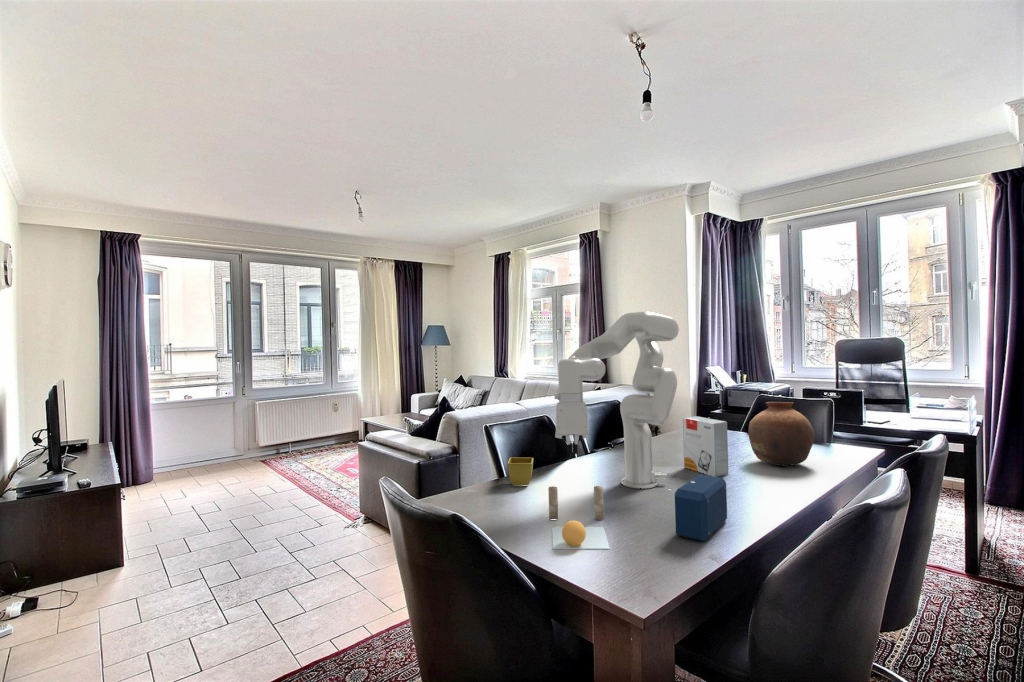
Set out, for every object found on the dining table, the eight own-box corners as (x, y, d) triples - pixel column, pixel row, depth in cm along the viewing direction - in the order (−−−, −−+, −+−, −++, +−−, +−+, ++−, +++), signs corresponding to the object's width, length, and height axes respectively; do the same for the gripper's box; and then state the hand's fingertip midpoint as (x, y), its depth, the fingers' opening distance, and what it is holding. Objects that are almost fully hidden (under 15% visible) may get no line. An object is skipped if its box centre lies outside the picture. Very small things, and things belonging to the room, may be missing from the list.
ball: (585, 551, 122) (585, 536, 128) (586, 531, 120) (585, 516, 126) (561, 550, 123) (561, 535, 128) (561, 529, 121) (562, 515, 127)
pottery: (781, 474, 181) (779, 406, 181) (736, 460, 203) (734, 400, 203) (830, 468, 187) (827, 402, 187) (781, 455, 209) (779, 396, 209)
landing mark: (603, 527, 135) (603, 527, 135) (609, 549, 121) (609, 548, 121) (552, 527, 136) (552, 527, 136) (552, 549, 122) (552, 548, 122)
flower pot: (534, 481, 182) (533, 457, 182) (532, 488, 173) (532, 463, 173) (510, 481, 183) (509, 457, 183) (508, 488, 174) (507, 463, 174)
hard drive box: (683, 468, 194) (681, 417, 194) (697, 465, 197) (696, 415, 197) (714, 477, 180) (712, 423, 180) (729, 474, 183) (728, 421, 183)
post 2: (603, 516, 143) (602, 486, 143) (604, 520, 141) (603, 488, 141) (594, 516, 144) (593, 486, 144) (595, 520, 141) (594, 488, 141)
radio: (698, 514, 144) (696, 445, 144) (729, 520, 138) (727, 448, 138) (670, 537, 127) (668, 460, 127) (705, 545, 122) (702, 464, 122)
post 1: (558, 517, 144) (557, 486, 144) (558, 520, 142) (557, 489, 142) (549, 517, 145) (548, 486, 145) (549, 520, 142) (548, 489, 142)
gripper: (547, 400, 153) (549, 459, 152) (595, 399, 151) (597, 458, 151) (547, 397, 160) (549, 453, 160) (593, 396, 159) (595, 453, 159)
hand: (572, 456), depth 156 cm, fingers closed
